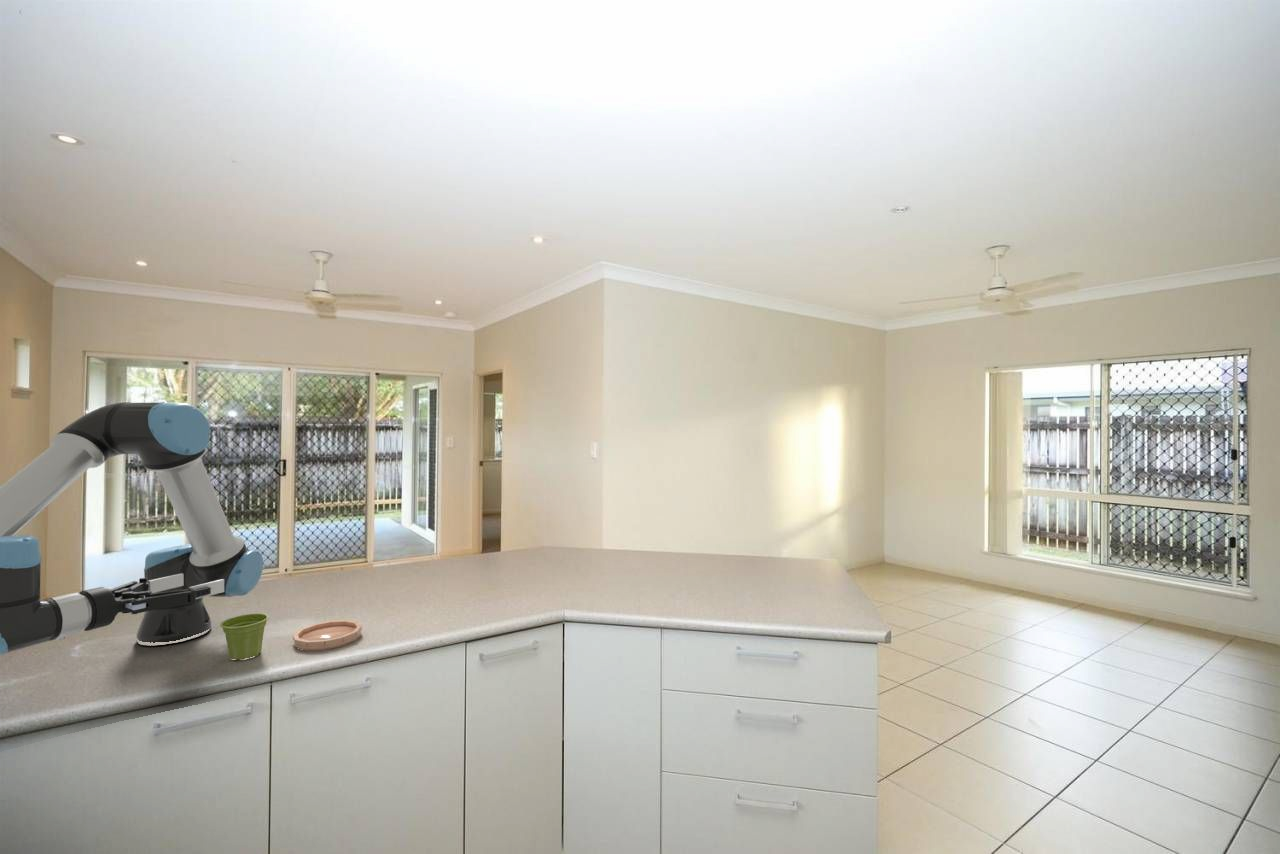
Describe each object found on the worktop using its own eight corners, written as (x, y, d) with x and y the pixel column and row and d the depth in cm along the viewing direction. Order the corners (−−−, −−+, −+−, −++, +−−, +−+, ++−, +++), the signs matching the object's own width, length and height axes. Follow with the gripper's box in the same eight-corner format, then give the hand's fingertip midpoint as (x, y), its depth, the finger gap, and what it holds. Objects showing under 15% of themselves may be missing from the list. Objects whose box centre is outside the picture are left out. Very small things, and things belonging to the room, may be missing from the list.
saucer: (279, 645, 142) (279, 636, 142) (332, 625, 156) (332, 617, 156) (323, 654, 137) (323, 645, 137) (373, 633, 151) (373, 624, 151)
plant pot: (229, 668, 129) (228, 630, 129) (214, 657, 135) (214, 621, 135) (275, 654, 137) (274, 618, 137) (259, 645, 143) (259, 610, 142)
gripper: (43, 623, 112) (166, 593, 132) (121, 640, 103) (241, 605, 123) (43, 585, 112) (166, 560, 132) (121, 599, 103) (240, 570, 123)
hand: (202, 582), depth 127 cm, fingers open, 13 cm apart
